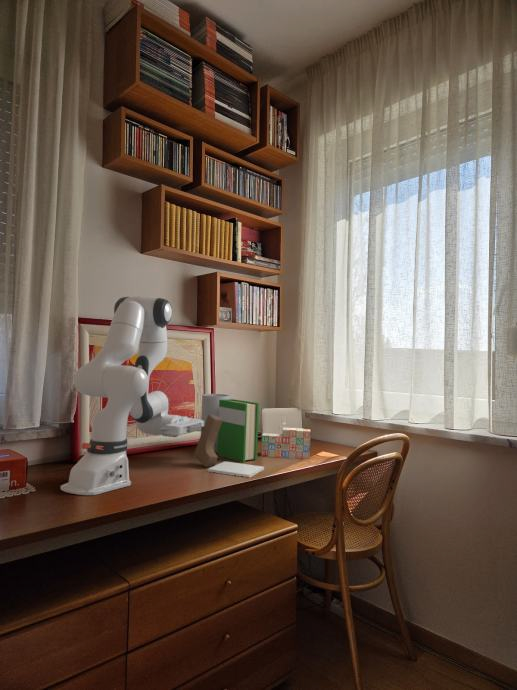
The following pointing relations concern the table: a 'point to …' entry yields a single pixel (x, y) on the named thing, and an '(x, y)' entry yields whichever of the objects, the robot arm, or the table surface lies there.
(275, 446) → the stack of blocks
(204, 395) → the cylinder vase
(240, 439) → the hardback book
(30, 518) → the table surface
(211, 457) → the wooden block
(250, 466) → the white flat panel
